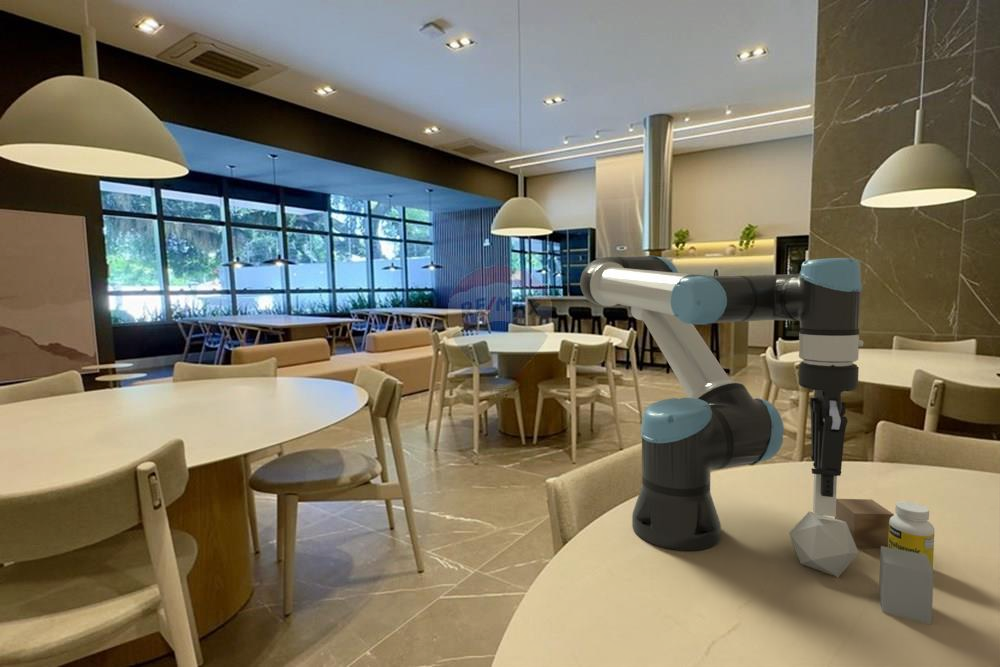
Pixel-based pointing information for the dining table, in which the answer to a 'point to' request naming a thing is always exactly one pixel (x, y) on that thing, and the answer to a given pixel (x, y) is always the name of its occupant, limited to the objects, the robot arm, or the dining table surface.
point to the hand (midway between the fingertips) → (824, 513)
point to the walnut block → (865, 521)
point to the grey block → (906, 584)
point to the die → (823, 543)
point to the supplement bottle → (912, 529)
